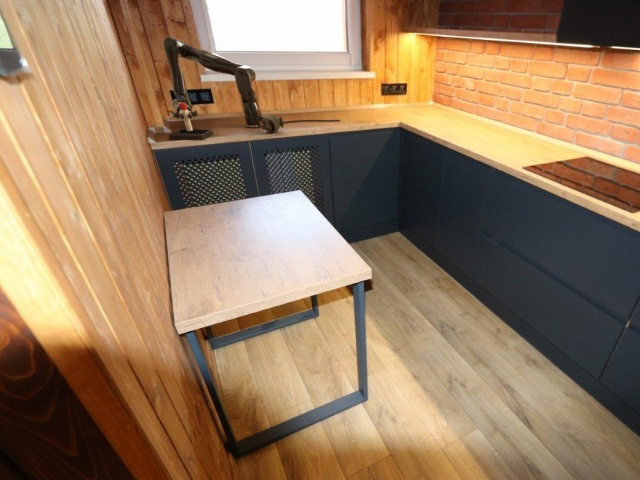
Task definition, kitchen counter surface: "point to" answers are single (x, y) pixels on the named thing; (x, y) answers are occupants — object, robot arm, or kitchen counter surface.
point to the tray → (191, 134)
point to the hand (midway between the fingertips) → (186, 116)
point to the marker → (186, 116)
